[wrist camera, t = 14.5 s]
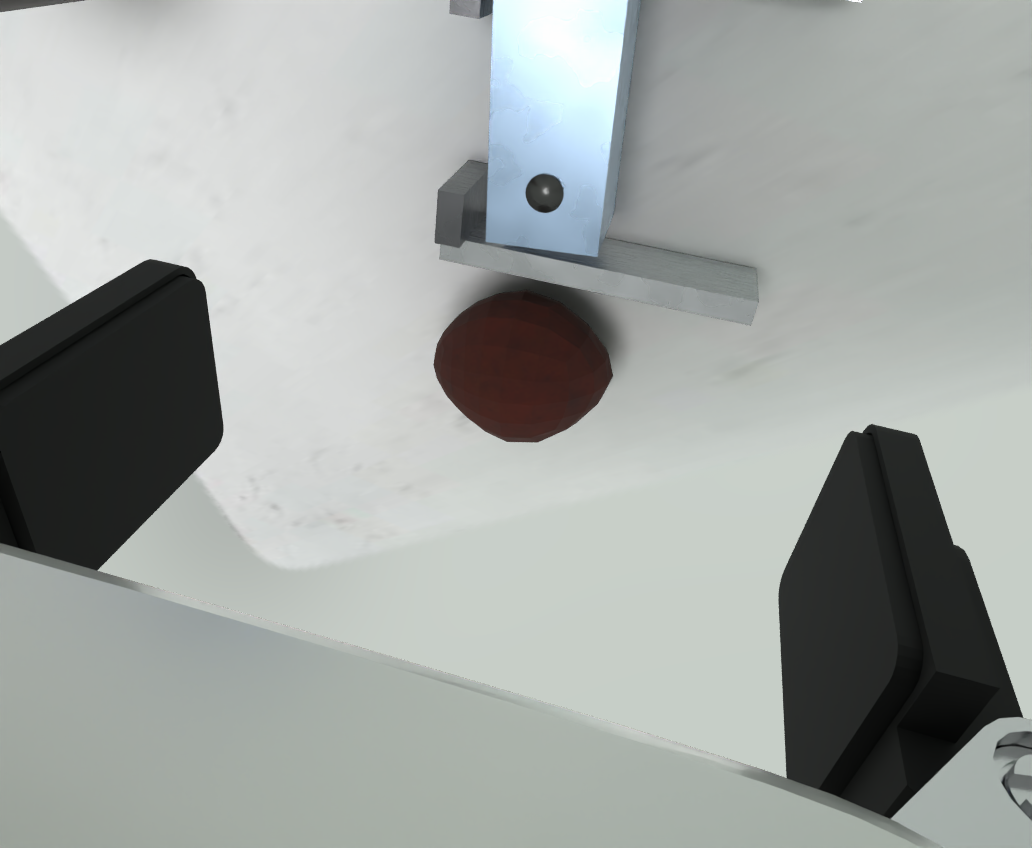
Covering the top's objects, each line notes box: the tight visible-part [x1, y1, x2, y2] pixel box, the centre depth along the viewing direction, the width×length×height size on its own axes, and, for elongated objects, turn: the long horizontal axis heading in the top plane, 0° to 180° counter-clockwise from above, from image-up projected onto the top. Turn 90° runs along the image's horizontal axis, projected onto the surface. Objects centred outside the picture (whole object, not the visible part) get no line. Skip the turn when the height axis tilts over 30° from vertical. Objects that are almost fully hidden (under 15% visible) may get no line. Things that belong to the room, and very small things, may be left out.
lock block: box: [486, 0, 641, 257], centre depth 33 cm, size 5×10×6 cm, turn 177°
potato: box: [434, 290, 613, 442], centre depth 39 cm, size 8×9×8 cm
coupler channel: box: [435, 0, 862, 326], centre depth 33 cm, size 15×14×5 cm
